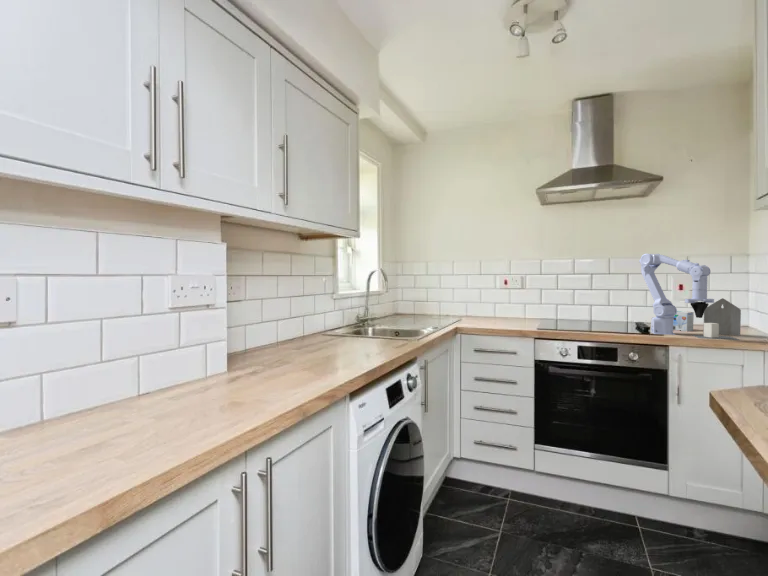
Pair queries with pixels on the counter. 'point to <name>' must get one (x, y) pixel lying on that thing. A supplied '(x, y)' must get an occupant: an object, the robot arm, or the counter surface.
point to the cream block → (711, 330)
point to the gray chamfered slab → (724, 317)
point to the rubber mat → (716, 338)
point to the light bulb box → (683, 321)
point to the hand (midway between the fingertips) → (699, 317)
